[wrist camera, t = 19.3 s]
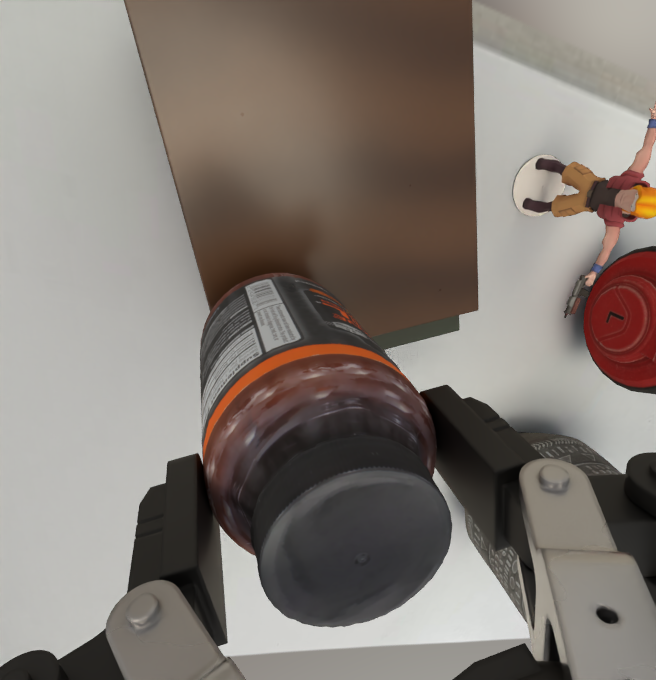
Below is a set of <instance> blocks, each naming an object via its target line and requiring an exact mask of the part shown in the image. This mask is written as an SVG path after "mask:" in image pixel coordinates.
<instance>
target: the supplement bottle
mask: <svg viewBox="0 0 656 680" xmlns="http://www.w3.org/2000/svg"><path fill="white" fill-rule="evenodd" d="M200 370H201V374H200V379H201V415H202V448H203V450H202V454H203V473H204V483H205V489H206V494H207V498H208V501H209V505H210V507H211V510H212V512H213V514H214V516H215V518H216V520H217V521H218V523H219V524H220V526H221V527H222V529H223V530H224V531H225V533H226V534H227V535H228V536H229V537H230V538H231V539H232V540H233V541H234V542H235V543H236V544H238V545H239V546H240V547H242V548H243V549H245V550H246V551H248V552H249V553H251V554H253V555H255V556H256V558H257V563H258V572H259V577H260V581H261V585H262V587H263V589H264V592H265V594H266V596H267V597H268V599H269V600H270V601H271V603H272V604H273V605H274V607H276V608H277V609H278V610H279V611H280V612H281V613H282V614H284V615H285V616H287V617H288V618H290V619H295V620H297V621H299V622H301V623H303V624H308V625H312V626H319V627H324V626H327V627H338V626H343V627H345V626H349V625H352V624H356V623H363V622H367V621H370V620H373V619H375V618H378V617H380V616H383V615H386V614H387V613H389V612H390V611H392V610H394V609H396V608H398V607H400V606H401V605H403V604H404V603H405V602H407V601H408V600H409V599H410V598H412V597H413V596H414V595H415V594H417V593H418V592H419V591H420V590H421V589H422V588H423V587H424V586H425V585H426V584H427V583H428V582H429V581H430V580H431V579H432V578H433V576H434V575H435V573H436V572H437V570H438V569H439V567H440V566H441V564H442V563H443V560H444V558H445V556H446V554H447V552H448V549H449V546H450V541H451V532H452V522H451V515H450V511H449V508H448V505H447V503H446V501H445V499H444V497H443V495H442V493H441V492H440V490H439V489H438V487H437V486H436V484H435V482H434V481H433V479H432V477H433V473H434V467H435V462H436V452H437V446H436V444H437V439H436V429H435V426H434V423H433V420H432V416H431V414H430V412H429V409H428V408H427V406H426V403H425V400H424V399H423V398H422V397H421V395H420V394H419V393H418V391H417V390H416V389H415V387H414V386H413V385H412V384H411V382H410V381H409V380H408V379H407V378H406V376H405V375H403V374H402V373H401V371H400V370H399V368H398V367H397V365H396V364H395V363H394V362H393V361H392V360H391V359H390V358H389V357H388V356H387V354H386V353H385V352H384V351H383V350H382V348H381V347H380V346H379V345H378V344H377V343H376V342H375V341H374V340H373V339H372V338H371V337H370V335H369V334H368V333H367V332H366V331H365V330H364V329H363V328H362V326H361V325H360V324H359V322H358V321H357V320H356V319H355V318H354V317H353V316H352V315H351V314H350V313H349V311H348V310H347V309H346V308H345V306H344V305H343V304H342V303H341V302H340V301H339V300H338V299H337V298H336V297H335V296H334V295H333V294H332V293H331V292H329V291H328V290H326V289H325V288H324V287H323V286H321V285H320V284H318V283H316V282H314V281H312V280H310V279H308V278H305V277H303V276H299V275H294V274H289V273H270V274H264V275H260V276H256V277H253V278H250V279H248V280H245V281H243V282H241V283H239V284H237V285H236V286H235V287H233V288H231V289H230V290H229V291H228V292H227V293H225V294H224V295H223V296H222V298H221V299H220V300H219V301H218V302H217V303H216V305H215V306H214V307H213V309H212V310H211V312H210V314H209V316H208V318H207V320H206V323H205V326H204V329H203V334H202V338H201V349H200Z"/></svg>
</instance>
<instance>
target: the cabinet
mask: <svg viewBox="0 0 656 680" xmlns="http://www.w3.org/2000/svg"><path fill="white" fill-rule="evenodd" d="M124 3H125V6H126V10H127V13H128V17H129V21H130V24H131V28H132V31H133V35H134V39H135V42H136V46H137V49H138V53H139V57H140V60H141V64H142V67H143V71H144V75H145V78H146V82H147V85H148V89H149V93H150V96H151V100H152V103H153V107H154V111H155V114H156V118H157V121H158V125H159V129H160V132H161V136H162V139H163V143H164V147H165V150H166V154H167V157H168V161H169V165H170V168H171V172H172V175H173V179H174V183H175V186H176V190H177V193H178V197H179V201H180V204H181V208H182V211H183V215H184V219H185V222H186V226H187V229H188V233H189V237H190V240H191V244H192V247H193V251H194V255H195V258H196V262H197V265H198V269H199V273H200V276H201V280H202V283H203V287H204V291H205V294H206V298H207V301H208V305H209V309H210V312H211V310H212V309H213V307H214V306H215V305H216V303H217V302H218V301H219V300H220V299H221V298H222V296H223V295H224V294H225V293H227V292H228V291H229V290H230V289H231V288H233V287H235V286H236V285H237V284H239V283H241V282H243V281H245V280H248V279H250V278H253V277H256V276H260V275H264V274H270V273H289V274H294V275H299V276H303V277H305V278H308V279H310V280H312V281H314V282H316V283H318V284H320V285H321V286H323V287H324V288H325V289H326V290H328V291H329V292H331V293H332V294H333V295H334V296H335V297H336V298H337V299H338V300H339V301H340V302H341V303H342V304H343V305H344V306H345V308H346V309H347V310H348V311H349V313H350V314H351V315H352V316H353V317H354V318H355V319H356V320H357V321H358V322H359V324H360V325H361V326H362V328H363V329H364V330H365V331H366V332H367V333H368V334H369V335H370V337H374V336H377V335H381V334H385V333H389V332H393V331H397V330H401V329H405V328H409V327H413V326H417V325H421V324H425V323H429V322H433V321H437V320H441V319H445V318H449V317H453V316H457V315H461V314H465V313H469V312H473V311H476V310H478V269H477V221H476V173H475V124H474V76H473V28H472V0H124Z"/></svg>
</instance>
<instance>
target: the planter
mask: <svg viewBox="0 0 656 680" xmlns="http://www.w3.org/2000/svg"><path fill="white" fill-rule="evenodd" d="M519 434H520V435H521V436H522V437H523V438H524V439H525V440H526V441H527V442H528V443H529V444H530V445H531V446H533V447H534V448H535V449H536V450H537V451H538V452H539V453H540V454H541V455H542V456H543V457H544V458H550V459H558V460H562V461H566V462H568V463H571V464H573V465H575V466H576V467H578V468H579V469H581V470H582V471H583V472H584V473H585V474H586V475H588V476H596V475H616V474H622V473H620V472H619V471H618V470H617V469H616V468H615V467H613V466H612V465H611V464H610V463H609V462H608V461H607V460H605V459H604V458H603V457H602V456H600V455H599V454H598V453H597V452H595V451H594V450H593V449H591V448H590V447H589V446H587V445H586V444H585V443H583V442H581V441H579V440H577V439H575V438H571V437H567V436H562V435H555V434H547V433H526V432H521V433H519ZM465 521H466V529H467V532H468V535H469V537H470V539H471V541H472V542H473V544H474V546H475V547H476V549H477V550H478V552H479V553H480V555H481V556H482V558H483V559H484V561H485V562H486V563H487V565H488V566H489V568H490V569H491V570H492V572H493V573H494V574H495V576H496V577H497V579H498V580H499V582H500V583H501V585H502V587H503V588H504V590H505V591H506V593H507V594H508V596H509V597H510V599H511V600H512V602H513V603H514V605H515V606H516V608H517V609H518V611H519V612H520V614H521V615H522V617H523V618H524V620H525V621H526V622H527V617H526V612H525V606H524V601H523V595H522V589H521V584H520V578H519V573H518V566H517V553H516V552H515V551H514V549H513V548H512V547H511V546H510V547H508V548H505V549H502V550H499V551H495V550H494V549H493V547H492V546H491V545H490V543H489V542H488V540H487V539H486V538H485V536H484V535H483V533H482V532H481V531H480V529H479V528H478V526H477V525H476V524H475V522H474V521H473V519H472V518H471V517H470V515H469V514H468V513H467V511H466V510H465ZM655 606H656V605H655ZM527 624H528V623H527Z"/></svg>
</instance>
